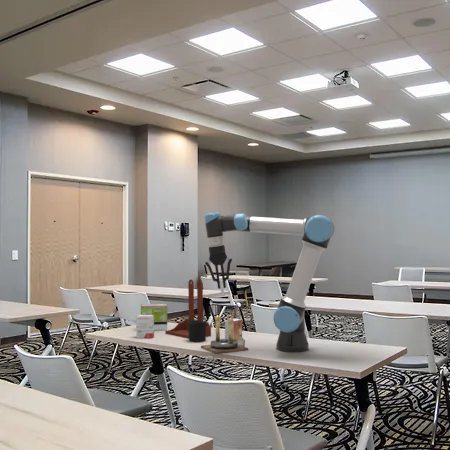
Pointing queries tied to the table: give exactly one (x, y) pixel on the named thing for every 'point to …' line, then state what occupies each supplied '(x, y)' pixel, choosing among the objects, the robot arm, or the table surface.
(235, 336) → the small box
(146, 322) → the ink box
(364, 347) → the table surface
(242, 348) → the stand
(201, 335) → the pen holder
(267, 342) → the table surface
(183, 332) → the dustpan and brush
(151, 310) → the tea box
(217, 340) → the brass post metal stand
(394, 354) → the table surface
